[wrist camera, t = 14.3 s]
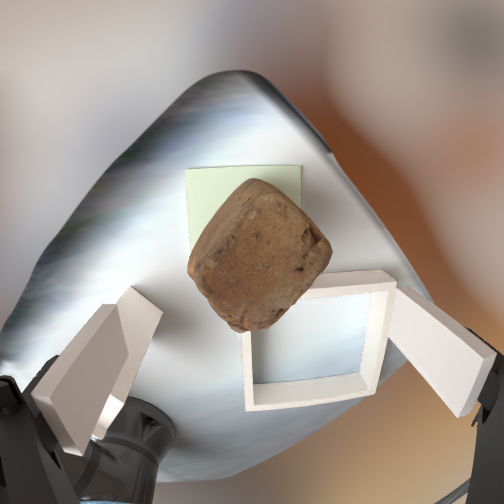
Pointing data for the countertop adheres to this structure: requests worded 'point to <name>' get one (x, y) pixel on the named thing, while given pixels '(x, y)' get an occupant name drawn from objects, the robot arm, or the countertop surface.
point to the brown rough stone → (257, 256)
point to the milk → (129, 351)
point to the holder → (339, 385)
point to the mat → (231, 189)
